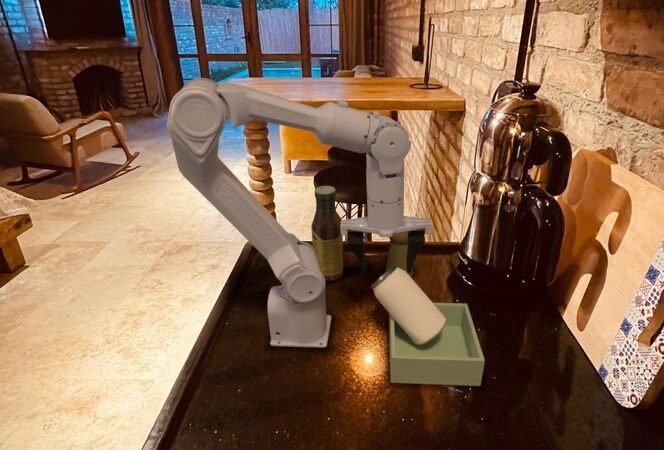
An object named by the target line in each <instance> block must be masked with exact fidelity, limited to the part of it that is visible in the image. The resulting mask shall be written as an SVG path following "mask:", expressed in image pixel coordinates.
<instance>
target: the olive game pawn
mask: <svg viewBox="0 0 664 450" xmlns="http://www.w3.org/2000/svg"><path fill="white" fill-rule="evenodd" d="M388 239H389V240H390V241H389V248H388V254H387V259H386V265H385V269H384V273H386V272H387V271H388V270H390V269H391V268H392V267H394V266H396V265H397V267H398V268H400V269H402V270H404V271H405V272H406V273H407V251H408V233H396V234H393V236H392V237H388ZM407 274H408V275H409V276H410V277H412V276H413V275H414V266H413V267H412V272H411V273H407Z"/></svg>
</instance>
